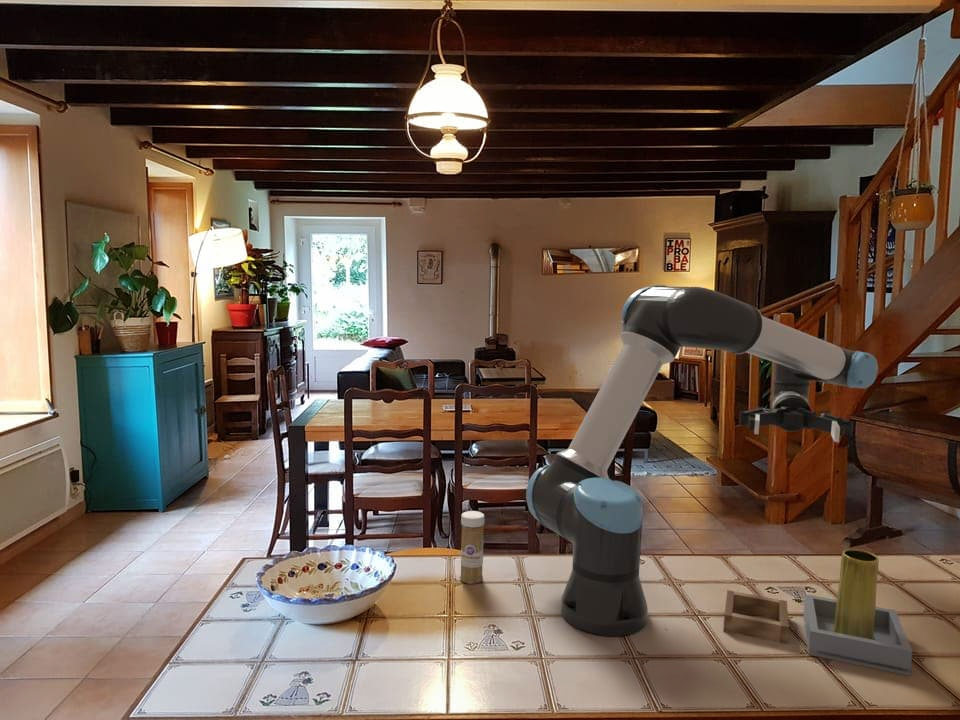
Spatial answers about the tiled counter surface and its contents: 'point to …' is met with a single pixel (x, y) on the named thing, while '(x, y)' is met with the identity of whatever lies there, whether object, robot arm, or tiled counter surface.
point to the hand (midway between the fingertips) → (796, 431)
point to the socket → (752, 624)
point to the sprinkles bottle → (472, 547)
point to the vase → (857, 594)
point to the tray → (857, 638)
